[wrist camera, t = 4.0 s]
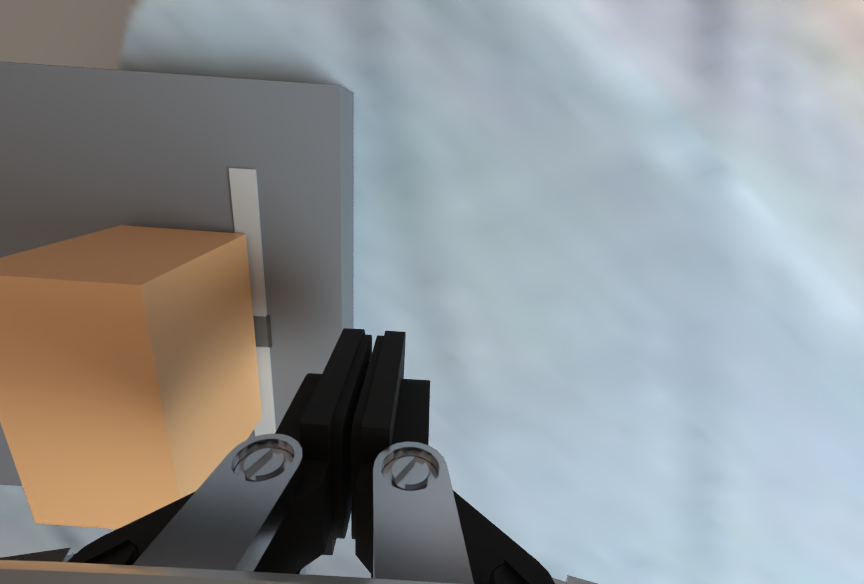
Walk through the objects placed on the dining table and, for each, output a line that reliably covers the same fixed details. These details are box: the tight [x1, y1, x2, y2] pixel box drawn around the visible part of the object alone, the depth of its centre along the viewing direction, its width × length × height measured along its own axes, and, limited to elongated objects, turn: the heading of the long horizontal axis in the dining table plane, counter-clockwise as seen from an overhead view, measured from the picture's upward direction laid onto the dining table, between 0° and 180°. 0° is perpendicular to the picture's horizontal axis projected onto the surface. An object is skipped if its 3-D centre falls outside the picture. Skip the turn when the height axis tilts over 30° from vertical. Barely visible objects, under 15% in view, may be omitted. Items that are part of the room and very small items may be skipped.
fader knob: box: [0, 225, 262, 529], centre depth 12 cm, size 4×7×5 cm, turn 176°
